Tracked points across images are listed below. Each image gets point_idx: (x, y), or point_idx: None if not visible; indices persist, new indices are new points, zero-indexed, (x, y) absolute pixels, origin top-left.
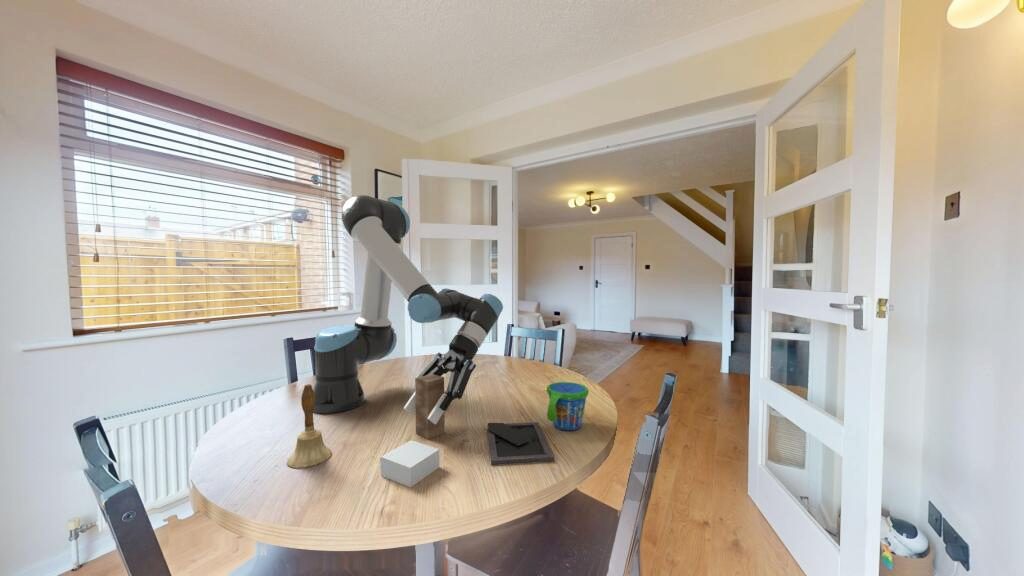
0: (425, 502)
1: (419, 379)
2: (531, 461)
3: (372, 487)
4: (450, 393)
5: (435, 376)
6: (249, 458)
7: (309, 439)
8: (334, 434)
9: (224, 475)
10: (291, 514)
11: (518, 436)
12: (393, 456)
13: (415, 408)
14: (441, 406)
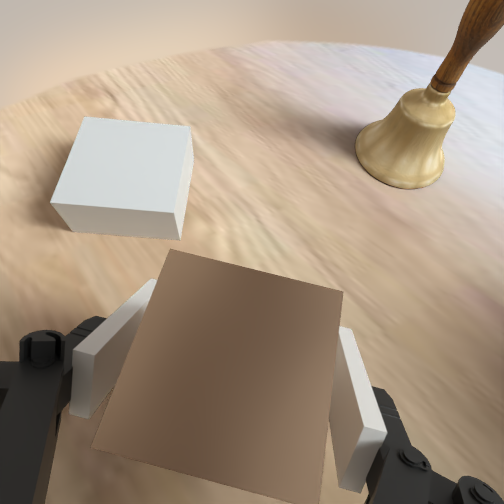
0: (42, 130)
1: (283, 278)
2: None
3: None
4: (22, 362)
5: (206, 429)
6: (493, 117)
7: (401, 97)
8: (488, 250)
9: None
10: (244, 58)
11: None
12: (159, 136)
13: None
14: (99, 321)
